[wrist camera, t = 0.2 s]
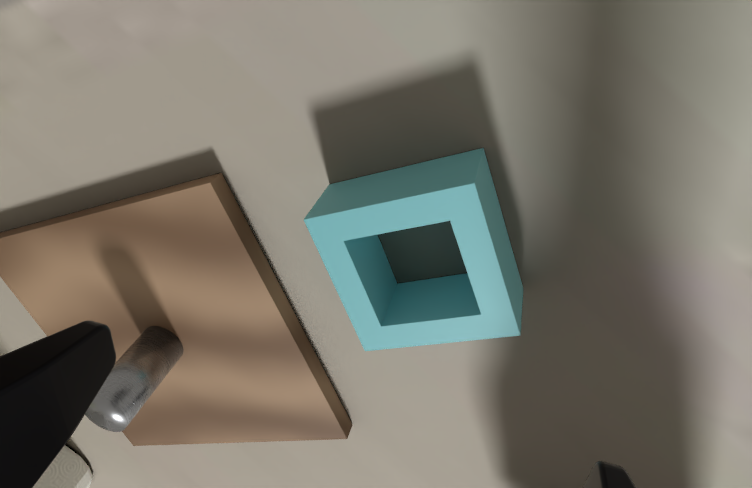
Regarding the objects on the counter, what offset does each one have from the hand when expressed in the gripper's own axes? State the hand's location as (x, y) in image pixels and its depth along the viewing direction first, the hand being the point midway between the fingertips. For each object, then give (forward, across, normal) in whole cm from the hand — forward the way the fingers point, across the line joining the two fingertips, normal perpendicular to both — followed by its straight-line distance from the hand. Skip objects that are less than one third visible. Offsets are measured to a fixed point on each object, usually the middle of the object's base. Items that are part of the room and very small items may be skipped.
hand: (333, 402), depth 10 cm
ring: (+14, 0, +5) cm, 14 cm away
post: (+13, +13, +14) cm, 23 cm away
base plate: (+14, +13, +14) cm, 24 cm away
